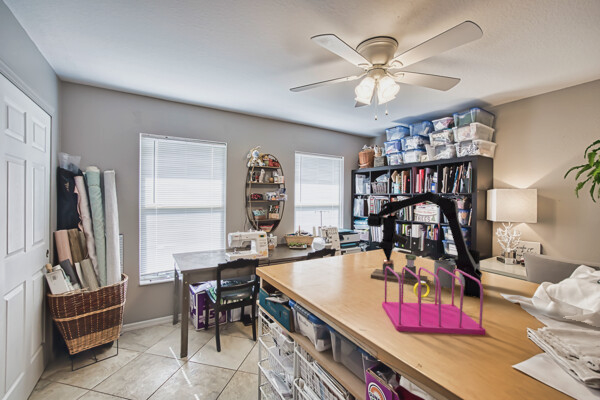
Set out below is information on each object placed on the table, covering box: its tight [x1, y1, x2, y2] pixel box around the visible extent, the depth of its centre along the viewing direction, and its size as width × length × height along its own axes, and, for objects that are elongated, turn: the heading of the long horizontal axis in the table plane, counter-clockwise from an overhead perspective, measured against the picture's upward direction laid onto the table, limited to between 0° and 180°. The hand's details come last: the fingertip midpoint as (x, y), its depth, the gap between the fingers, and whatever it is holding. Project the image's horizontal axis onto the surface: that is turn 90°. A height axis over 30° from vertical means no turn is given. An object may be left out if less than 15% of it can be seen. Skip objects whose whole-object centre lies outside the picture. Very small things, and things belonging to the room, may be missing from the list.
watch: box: [413, 281, 431, 298], centre depth 104 cm, size 6×3×6 cm, turn 94°
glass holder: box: [457, 249, 481, 286], centre depth 119 cm, size 9×14×15 cm, turn 137°
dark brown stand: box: [370, 262, 428, 288], centre depth 126 cm, size 12×24×6 cm, turn 62°
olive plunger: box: [405, 253, 417, 268], centre depth 124 cm, size 5×5×6 cm
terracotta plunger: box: [382, 258, 394, 265], centre depth 129 cm, size 5×5×6 cm
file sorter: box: [381, 266, 487, 336], centre depth 85 cm, size 17×25×16 cm
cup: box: [433, 259, 457, 289], centre depth 119 cm, size 8×8×10 cm
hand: (388, 260), depth 128 cm, fingers closed, pressing on terracotta plunger
